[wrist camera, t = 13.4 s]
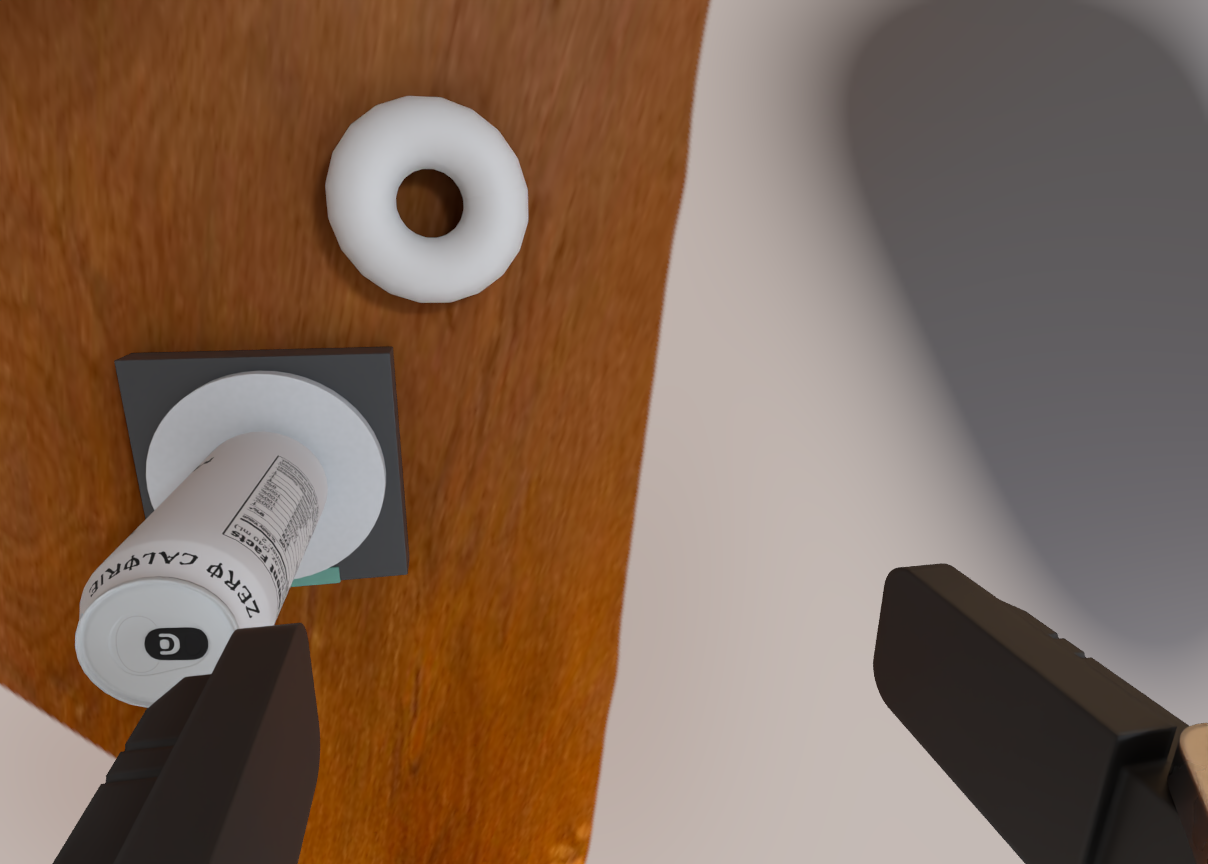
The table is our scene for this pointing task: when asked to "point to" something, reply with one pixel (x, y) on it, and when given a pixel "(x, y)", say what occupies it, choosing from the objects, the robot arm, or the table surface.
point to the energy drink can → (201, 567)
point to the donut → (410, 143)
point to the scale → (288, 407)
